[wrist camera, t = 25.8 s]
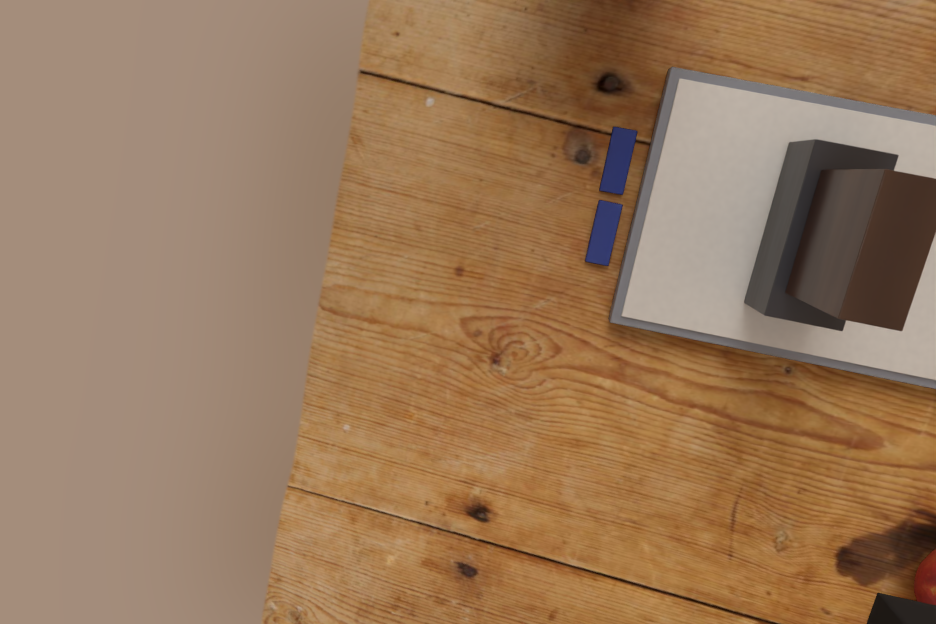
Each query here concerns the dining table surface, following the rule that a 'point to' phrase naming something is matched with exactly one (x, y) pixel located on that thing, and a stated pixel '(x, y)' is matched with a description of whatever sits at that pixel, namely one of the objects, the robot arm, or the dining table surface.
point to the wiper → (843, 238)
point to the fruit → (926, 580)
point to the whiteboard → (757, 222)
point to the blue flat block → (618, 160)
